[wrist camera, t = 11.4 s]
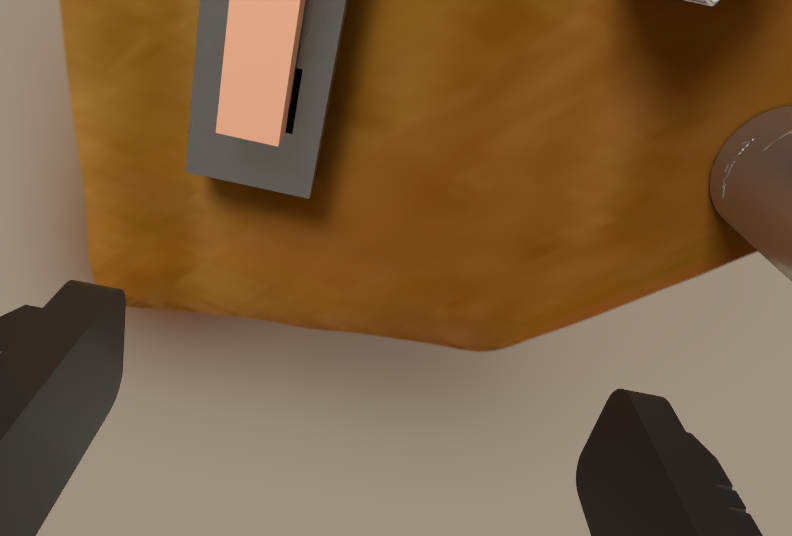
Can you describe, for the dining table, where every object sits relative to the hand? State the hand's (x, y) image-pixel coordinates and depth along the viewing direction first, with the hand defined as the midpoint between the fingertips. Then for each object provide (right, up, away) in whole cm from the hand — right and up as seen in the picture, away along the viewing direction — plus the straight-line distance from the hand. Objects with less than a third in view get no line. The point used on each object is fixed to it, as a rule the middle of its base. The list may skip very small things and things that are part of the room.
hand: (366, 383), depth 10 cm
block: (-7, +18, +29) cm, 35 cm away
